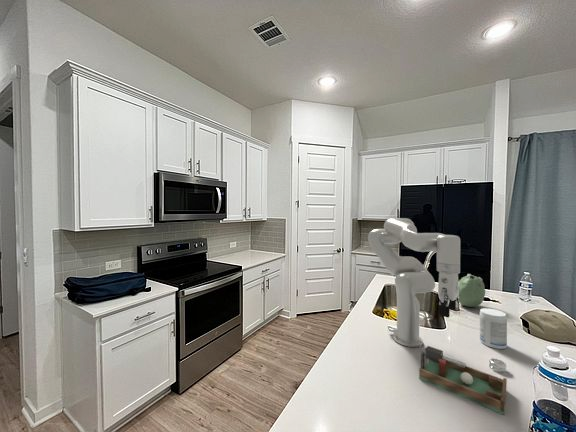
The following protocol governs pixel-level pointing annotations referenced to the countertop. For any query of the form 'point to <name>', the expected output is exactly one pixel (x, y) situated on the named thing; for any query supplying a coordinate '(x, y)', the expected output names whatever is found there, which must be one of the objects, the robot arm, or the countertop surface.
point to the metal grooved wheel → (497, 365)
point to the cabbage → (471, 291)
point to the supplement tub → (493, 328)
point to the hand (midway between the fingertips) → (447, 312)
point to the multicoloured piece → (441, 359)
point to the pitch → (481, 391)
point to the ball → (466, 378)
